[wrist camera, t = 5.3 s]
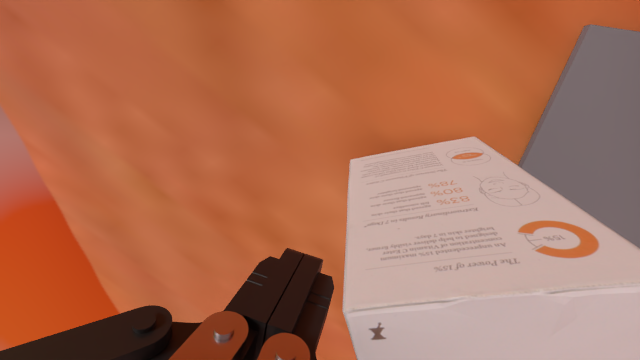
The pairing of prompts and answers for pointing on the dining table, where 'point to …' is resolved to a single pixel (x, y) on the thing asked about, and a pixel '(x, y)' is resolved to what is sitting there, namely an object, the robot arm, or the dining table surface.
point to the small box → (480, 263)
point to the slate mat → (595, 131)
